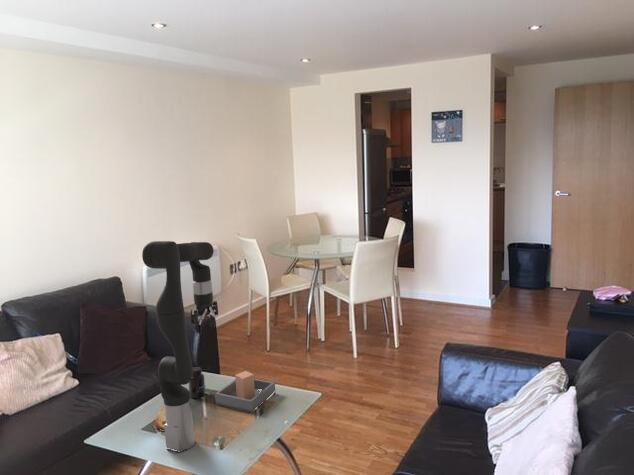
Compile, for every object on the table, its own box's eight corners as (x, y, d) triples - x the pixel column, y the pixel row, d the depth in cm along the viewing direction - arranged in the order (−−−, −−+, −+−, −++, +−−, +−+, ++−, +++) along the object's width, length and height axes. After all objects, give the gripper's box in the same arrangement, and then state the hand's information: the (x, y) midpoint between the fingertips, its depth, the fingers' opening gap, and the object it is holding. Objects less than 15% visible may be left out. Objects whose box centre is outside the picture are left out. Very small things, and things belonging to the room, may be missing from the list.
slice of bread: (176, 402, 223) (175, 394, 222) (202, 415, 211) (201, 406, 210) (138, 420, 209) (137, 411, 209) (164, 434, 198) (163, 425, 197)
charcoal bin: (251, 413, 210) (251, 401, 210) (215, 404, 219) (215, 393, 218) (275, 393, 226) (274, 382, 225) (241, 386, 234) (240, 376, 233)
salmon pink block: (255, 396, 222) (253, 374, 220) (244, 401, 218) (242, 378, 217) (247, 392, 226) (245, 370, 224) (236, 397, 222) (235, 375, 221)
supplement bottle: (203, 398, 225) (201, 372, 222) (187, 399, 225) (185, 372, 223) (207, 391, 231) (205, 365, 229) (191, 391, 231) (189, 366, 229)
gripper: (198, 296, 202) (202, 337, 205) (221, 287, 214) (224, 325, 217) (183, 295, 205) (187, 334, 208) (206, 286, 218) (209, 323, 220)
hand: (206, 329), depth 212 cm, fingers open, 8 cm apart
